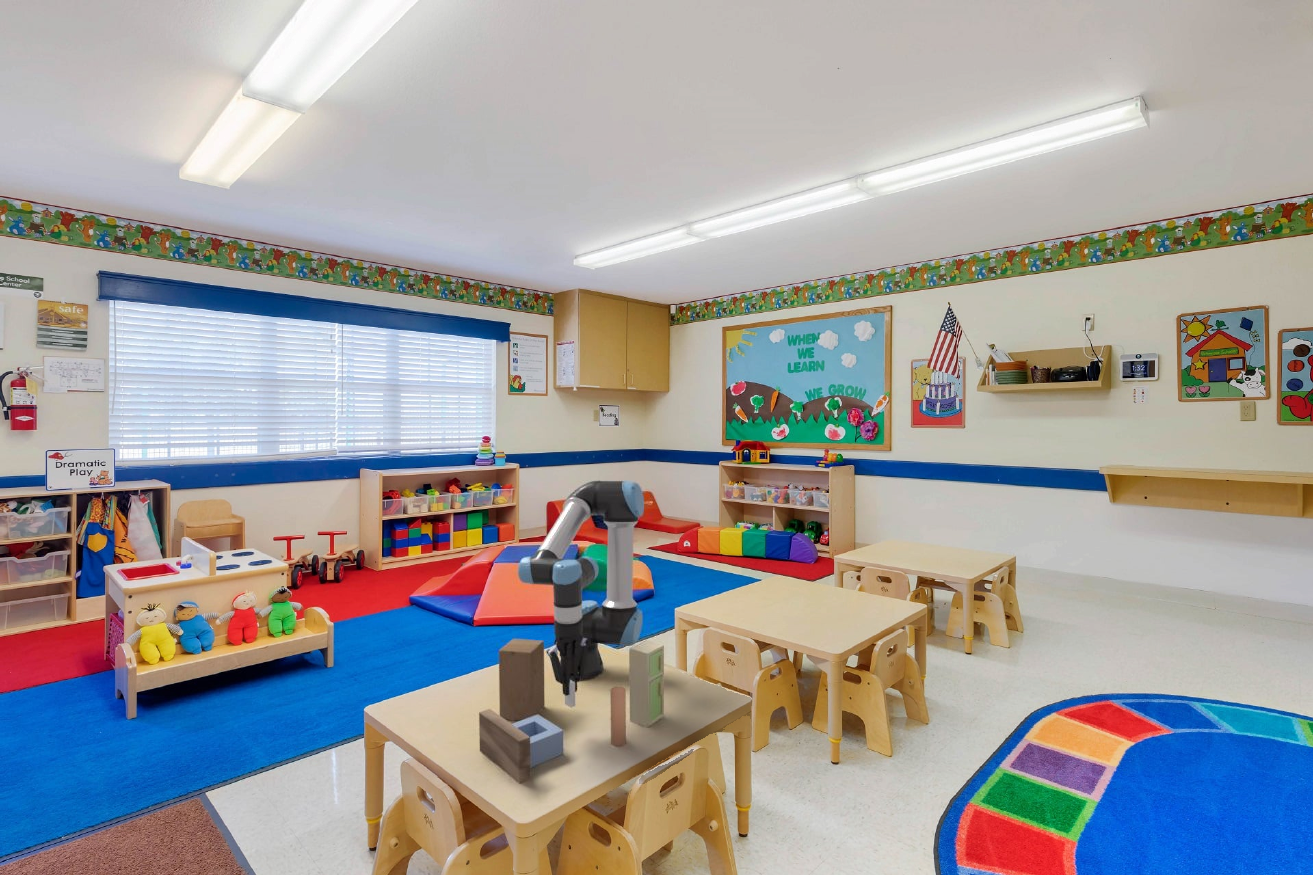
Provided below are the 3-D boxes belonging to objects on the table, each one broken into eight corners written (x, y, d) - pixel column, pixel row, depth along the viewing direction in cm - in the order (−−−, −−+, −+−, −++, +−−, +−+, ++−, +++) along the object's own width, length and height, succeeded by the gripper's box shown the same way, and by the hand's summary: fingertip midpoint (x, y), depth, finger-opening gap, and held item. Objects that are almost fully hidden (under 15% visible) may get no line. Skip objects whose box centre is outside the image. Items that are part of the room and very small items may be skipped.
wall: (490, 746, 165) (489, 708, 164) (530, 778, 150) (530, 736, 150) (479, 750, 163) (479, 712, 162) (519, 783, 148) (518, 741, 148)
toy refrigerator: (649, 728, 174) (649, 653, 173) (629, 721, 178) (628, 647, 177) (666, 717, 180) (666, 645, 179) (646, 710, 184) (646, 639, 184)
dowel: (619, 736, 169) (619, 685, 169) (629, 742, 166) (628, 689, 166) (607, 741, 167) (607, 689, 166) (617, 747, 164) (616, 694, 163)
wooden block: (531, 722, 178) (531, 652, 177) (499, 719, 180) (498, 649, 179) (545, 706, 187) (544, 640, 187) (513, 703, 189) (513, 637, 189)
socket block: (538, 736, 170) (538, 714, 170) (563, 753, 161) (563, 730, 161) (497, 752, 162) (497, 729, 161) (521, 771, 153) (521, 746, 153)
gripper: (580, 610, 176) (581, 692, 177) (539, 621, 167) (541, 708, 168) (596, 616, 170) (598, 701, 171) (555, 629, 161) (557, 718, 163)
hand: (570, 704), depth 170 cm, fingers closed
